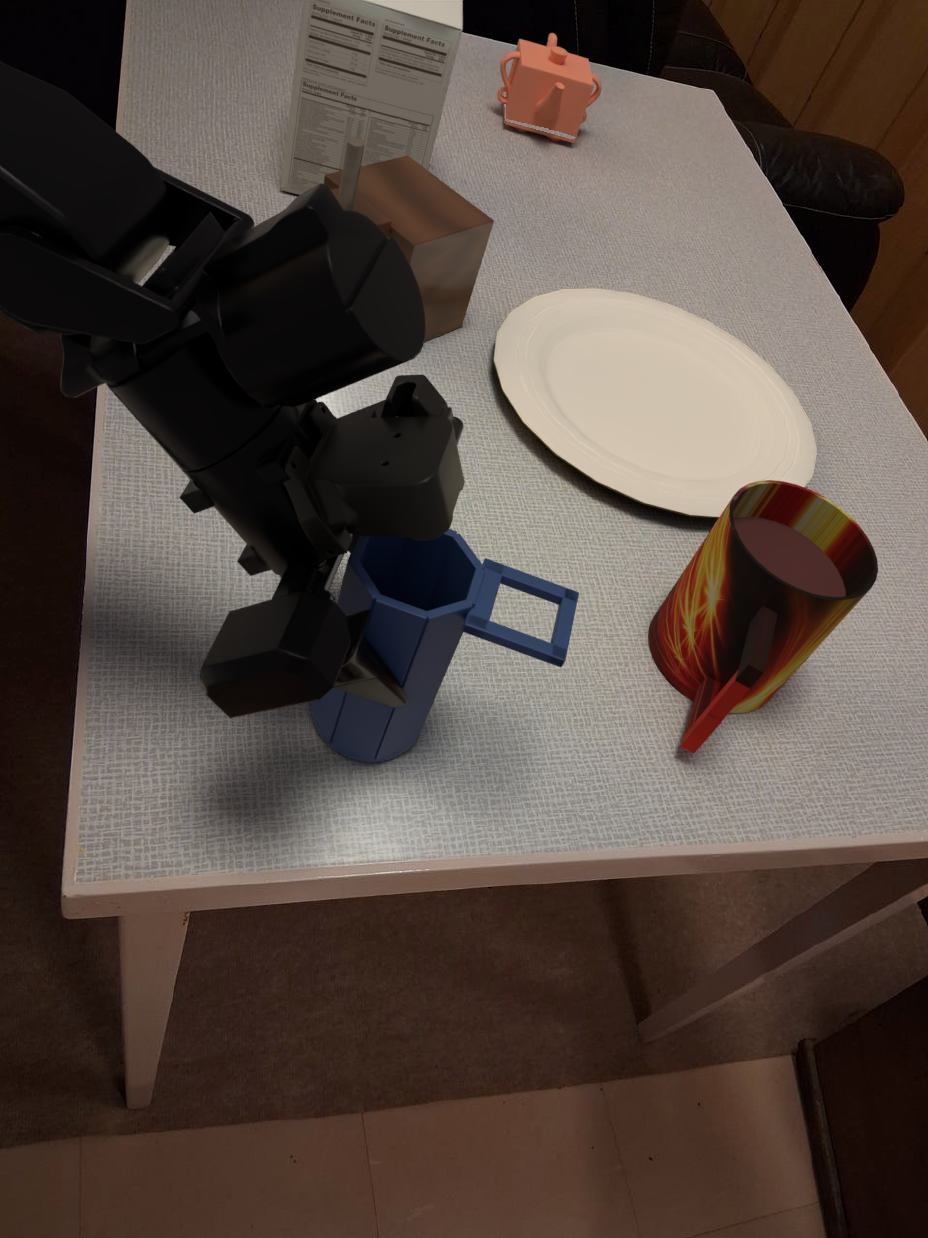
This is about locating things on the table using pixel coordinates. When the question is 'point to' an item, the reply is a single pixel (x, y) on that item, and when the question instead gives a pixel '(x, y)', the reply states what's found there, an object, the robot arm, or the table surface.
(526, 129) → the teapot
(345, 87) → the supplement box
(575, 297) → the plate
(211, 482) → the robot arm
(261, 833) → the table surface
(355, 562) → the measuring cup
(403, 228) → the hook box
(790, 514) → the mug
